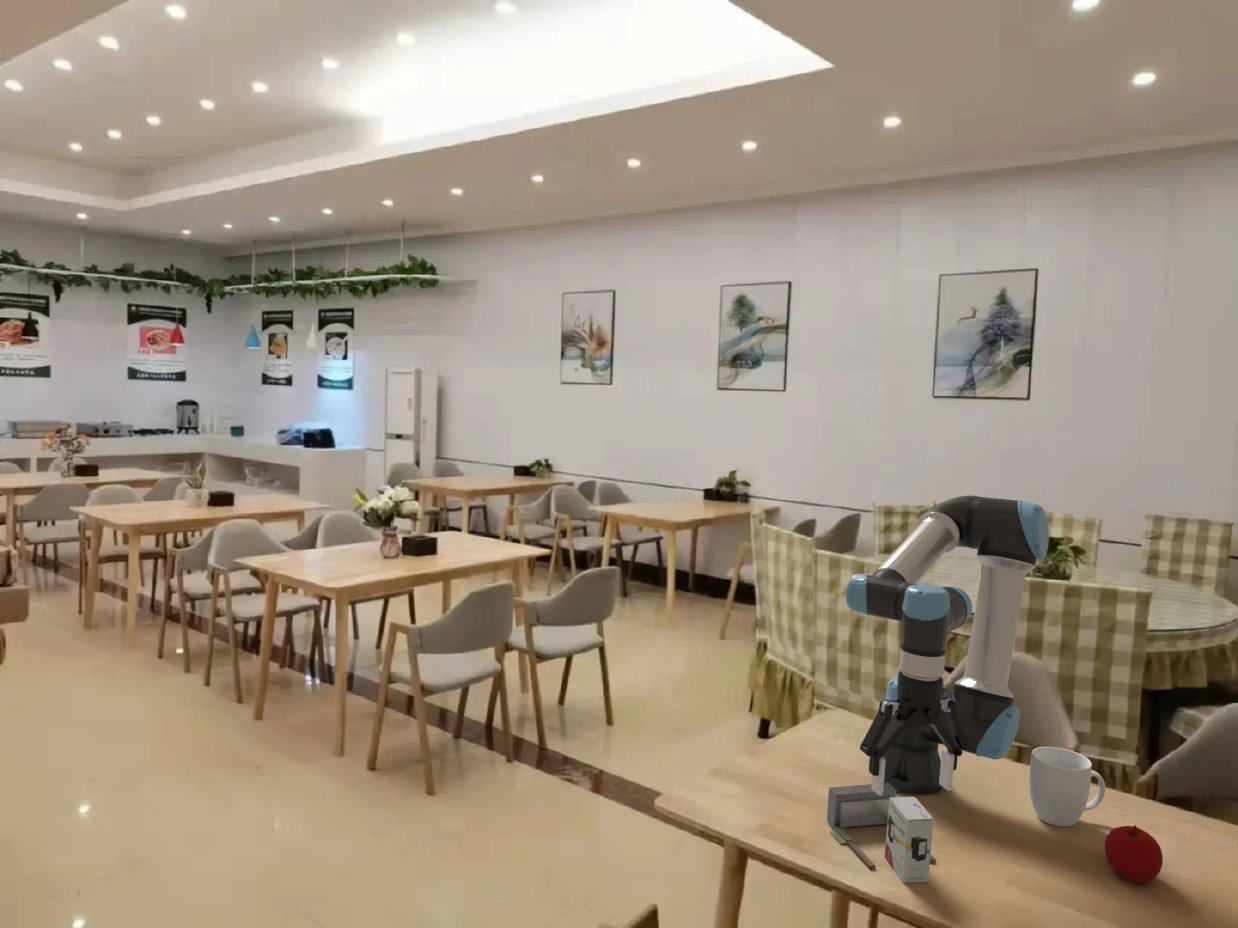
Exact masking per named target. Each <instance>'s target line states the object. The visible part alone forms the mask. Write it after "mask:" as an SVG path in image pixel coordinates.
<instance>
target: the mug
mask: <svg viewBox="0 0 1238 928" xmlns="http://www.w3.org/2000/svg"><path fill="white" fill-rule="evenodd" d="M1029 763H1030V764H1029V765H1030V766H1029V777H1028V783H1029V785H1028V787H1029V788H1028V789H1029V796H1030V800H1031V805H1032V807H1033V809H1034V811H1035V814H1036V815H1037V816H1038V818H1040V820H1041V821H1043V822H1045V823H1046V824H1049V825H1052V826H1054V827H1061V828H1067V827H1072V826H1074V825H1075V824H1076V823H1077V822H1078V821H1079V819H1080V818H1081V816H1082V815H1083V813H1084V811H1085V812H1086V811H1090V810H1093V809H1095V808H1096V807H1098V806H1099V805H1100V804H1101V803H1102V801H1103V800H1104V798H1105V794H1106V782H1105V780H1104V778H1103V777H1102V775H1101V774H1100V773H1098V772H1097V771H1095V770H1093V769H1092V768H1093V767H1092V766H1093V764H1092V761H1091V760H1090V759H1089V758H1087V757H1086V756H1084V755H1082V754H1081V753H1079V752H1075V751H1073V750H1070V749H1066V748H1062V747H1056V746H1040V747H1036V748H1033V750H1032V751H1031V757H1030V762H1029ZM1093 777H1095V778H1096V779H1097V781H1098V789H1097V793H1096V795H1095V797H1094V798H1093V799H1092V800H1090V801H1089V802H1088V799H1089V794H1090V790H1091V789H1090V788H1091V781H1092V778H1093Z"/></svg>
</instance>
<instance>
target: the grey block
mask: <svg viewBox="0 0 1238 928" xmlns="http://www.w3.org/2000/svg"><path fill="white" fill-rule="evenodd" d="M871 784H872V783H869V784H867V783H866V784H857V785H856V784H855V785H845V786H832V787H828V798H827V799H828V800H827V814H826V822H827V823H828V825H830V826H831V828H833V826H840V827H842V828H843V829H846V828H847V829H848V828H859V827H870V826H881V825H887V823H888V812H889V799H890V797H897V791H896V789H895V788H894V787H892V786H891V785H890V784H889V783H884V787H883V795H882V796H879V795H878V794H877V793H875V792H874V791H873V790H872V789H871Z"/></svg>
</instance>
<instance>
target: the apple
mask: <svg viewBox="0 0 1238 928" xmlns="http://www.w3.org/2000/svg"><path fill="white" fill-rule="evenodd" d="M1162 851H1163V850H1162V849H1161V846H1160V844H1159V843H1158V842H1157V840H1156V839H1155V838H1154V836H1153V835H1151V834H1150V833H1148V832H1146V830H1144V829H1142V828H1139V827H1137V825H1122V826H1118V827H1114V828H1112V830H1110V831H1109V833H1108V834H1107V836H1106V839H1105V841H1104V854H1105V858H1106V860H1107V862H1108V865H1109V866H1110V867H1111V869H1112V870H1113V871H1114V872H1115V873H1116V874H1117V875H1118V876H1119V877H1121V878H1123V879H1124V880H1128V881H1130V882H1133V883H1135V884H1146V883H1149V882H1152V881H1153V880H1155V879H1156V878H1157V876H1158V875H1159V874H1160V872H1161V869H1162V867H1163V861H1164V860H1163V858H1164V857H1163V856H1164V855H1163V852H1162Z"/></svg>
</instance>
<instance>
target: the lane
mask: <svg viewBox="0 0 1238 928" xmlns="http://www.w3.org/2000/svg"><path fill="white" fill-rule="evenodd" d="M829 833H830V835H832V837H833V838H835V840H836V841H837V842H838V844H840V845H847V847H848V848H849V849H851V851H852V852H853V853H854V854H855V855H856V856H857V857H858V858H859V860H860V861H861V862H862V863H863V864H864V865H865V866H866V867H867V868H868V870H873V869H876V867H877V866H876V864H875V863H874V862H873V861H872V860H871V859H870V857H869V856H867V854H866V853H865V852H864V851H863V850H862V848H860V847H859V846H858V844H857V843H856V842H854V840H853V838H852V837H851V836H850V835H849V833H847V832H846V830H845V829H844V828H842V827H840V826H833V827H832V830H829ZM936 860H937V859H936V858H935V857H934V856H933V855H932V854H931V853H930V864H932V863H933V864H934V863H936V862H937V861H936Z"/></svg>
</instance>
